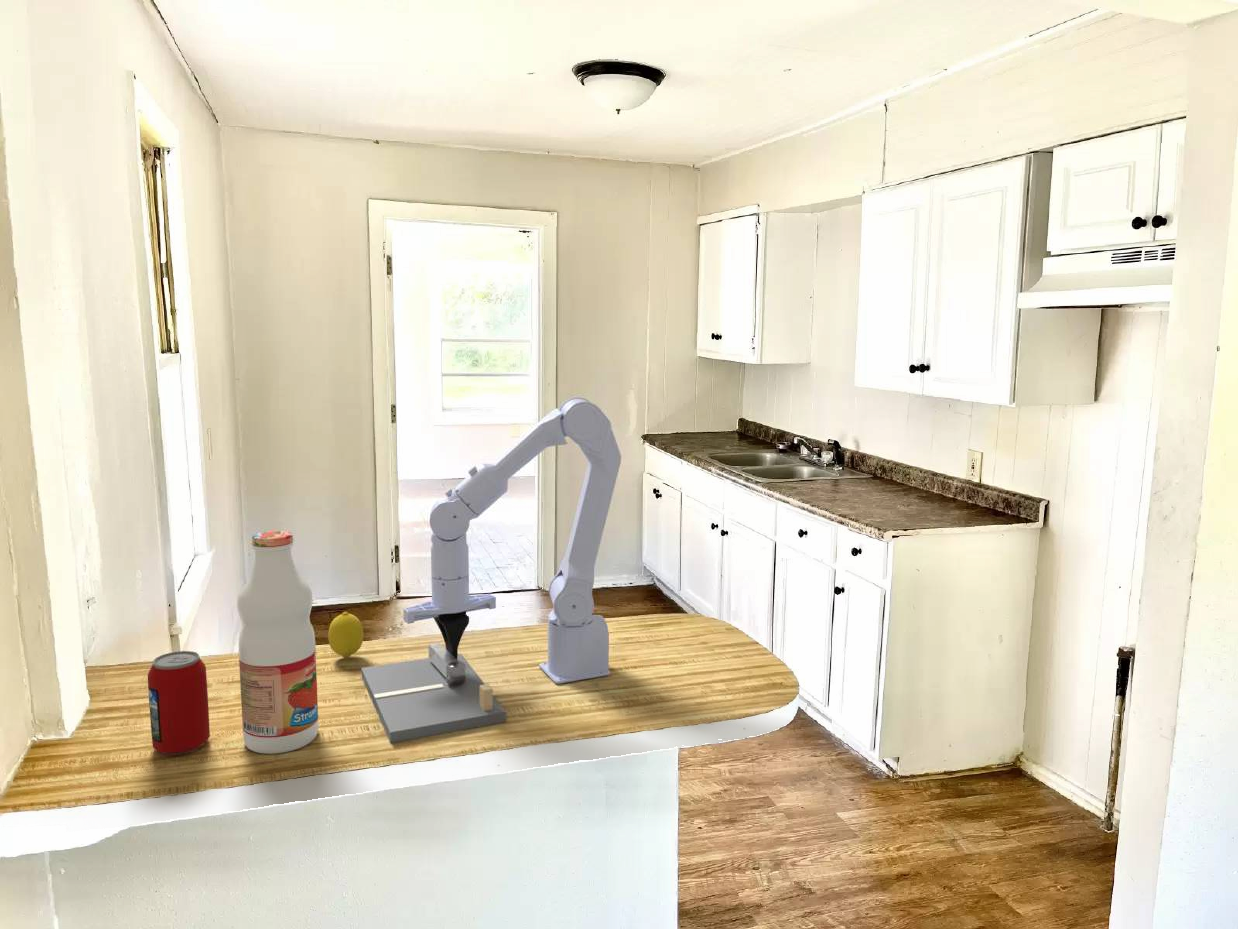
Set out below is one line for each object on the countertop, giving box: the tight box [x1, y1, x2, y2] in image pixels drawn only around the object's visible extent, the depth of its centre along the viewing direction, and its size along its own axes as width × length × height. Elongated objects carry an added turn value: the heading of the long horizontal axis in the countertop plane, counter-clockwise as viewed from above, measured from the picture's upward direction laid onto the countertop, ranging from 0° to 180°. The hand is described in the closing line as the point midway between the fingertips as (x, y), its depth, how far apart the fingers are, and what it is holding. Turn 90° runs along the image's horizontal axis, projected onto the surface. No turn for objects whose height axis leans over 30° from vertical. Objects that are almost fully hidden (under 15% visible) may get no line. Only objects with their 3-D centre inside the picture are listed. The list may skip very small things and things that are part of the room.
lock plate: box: [360, 653, 507, 744], centre depth 128 cm, size 16×24×4 cm, turn 25°
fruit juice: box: [236, 530, 319, 755], centre depth 113 cm, size 9×9×28 cm
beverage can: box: [147, 650, 211, 756], centre depth 112 cm, size 7×7×12 cm
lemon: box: [327, 611, 364, 659], centre depth 143 cm, size 6×6×8 cm
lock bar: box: [427, 642, 465, 685], centre depth 134 cm, size 12×3×2 cm, turn 30°
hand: (451, 658), depth 136 cm, fingers closed, pressing on lock bar
